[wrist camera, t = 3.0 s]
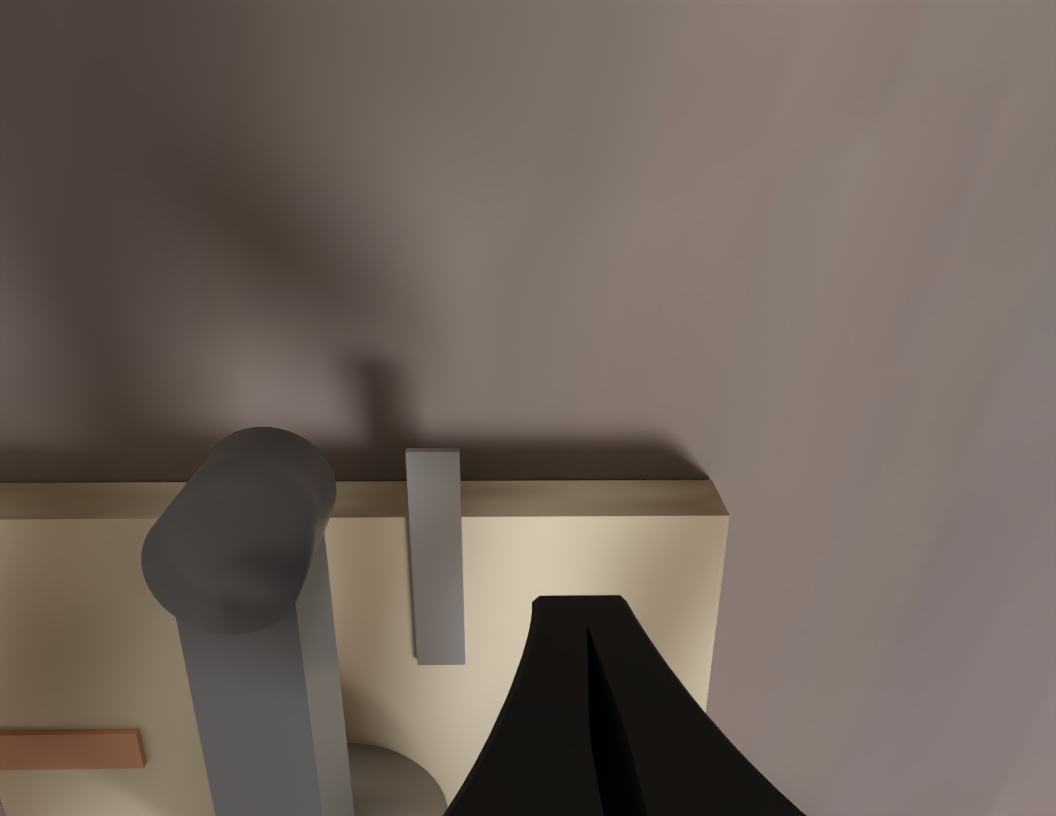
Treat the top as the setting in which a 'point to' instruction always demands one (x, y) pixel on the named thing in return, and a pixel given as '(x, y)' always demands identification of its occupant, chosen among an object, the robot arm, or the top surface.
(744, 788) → the robot arm
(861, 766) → the top surface
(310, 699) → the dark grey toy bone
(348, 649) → the base
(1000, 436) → the top surface
